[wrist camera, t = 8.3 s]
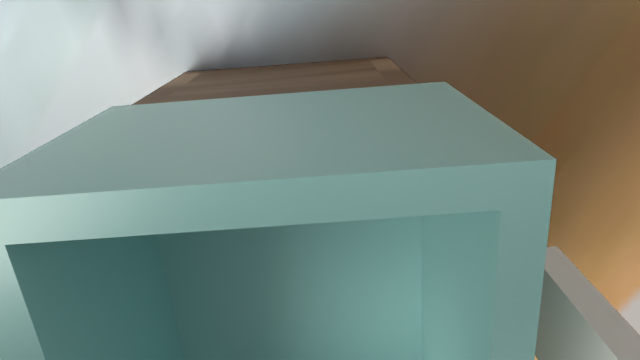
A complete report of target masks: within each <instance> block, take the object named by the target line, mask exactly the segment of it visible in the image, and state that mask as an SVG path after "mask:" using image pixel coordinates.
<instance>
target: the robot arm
mask: <svg viewBox="0 0 640 360" xmlns="http://www.w3.org/2000/svg"><path fill="white" fill-rule="evenodd" d="M535 355H536V357H537V359H538V360H640V335H639V334H638V333H637V332H636V331H635V330H634V329H633V327H632V326H631V325H630V324H629V323H628V322H627V321H626V320H625V319H624V318H623V317H622V316H621V315H620V313H619V312H618V311H617V310H616V309H615V308H614V307H613V306H612V305H611V304H610V303H609V302H608V301H607V300H606V298H605V297H604V296H603V295H602V294H601V293H600V292H599V291H598V290H597V289H596V288H595V287H594V286H593V285H592V283H591V282H590V281H589V280H588V279H587V278H586V277H585V276H584V275H583V274H582V273H581V272H580V271H579V270H578V268H577V267H576V266H575V265H574V264H573V263H572V262H571V261H570V260H569V259H568V258H567V257H566V256H565V255H564V253H563V252H562V251H561V250H560V249H559V248H558V247H557V246H552V247H547V250H546V259H545V268H544V277H543V286H542V295H541V304H540V313H539V322H538V331H537V340H536V349H535ZM0 360H1V359H0Z"/></svg>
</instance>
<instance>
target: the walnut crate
mask: <svg viewBox="0 0 640 360" xmlns="http://www.w3.org/2000/svg"><path fill="white" fill-rule="evenodd" d="M405 84H417V83H416V82H415V81H414V80H412V79H411V78H410V77H409V76H408V75H407V74H406V73H405V72H404V71H403V70H402V69H400V68H399V67H398V66H397V65H396V64H395V63H394V62H393V61H392V60H391V59H389V58H388V57H379V58H366V59H352V60H339V61H325V62H312V63H298V64H285V65H271V66H258V67H245V68H231V69H218V70H204V71H191V72H185V73H183V74H182V75H180V76H178V77H177V78H175V79H173V80H172V81H170V82H168V83H167V84H165V85H163V86H162V87H160V88H159V89H157V90H155V91H154V92H152V93H150V94H149V95H147V96H145V97H144V98H142V99H141V100H139V101H137V102H136V103H134V104H132V105H139V104H153V103H166V102H179V101H192V100H206V99H219V98H232V97H246V96H259V95H272V94H285V93H299V92H312V91H325V90H339V89H352V88H365V87H378V86H392V85H405Z"/></svg>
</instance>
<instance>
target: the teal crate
mask: <svg viewBox="0 0 640 360" xmlns="http://www.w3.org/2000/svg"><path fill="white" fill-rule="evenodd" d="M556 160H557V159H555V158H554V157H553V156H551V155H550V154H548V153H547V152H545V151H544V150H543V149H541V148H540V147H538V146H537V145H535V144H534V143H532V142H531V141H530V140H528V139H527V138H525V137H524V136H522V135H521V134H520V133H518V132H517V131H515V130H514V129H512V128H511V127H509V126H508V125H507V124H505V123H504V122H502V121H501V120H499V119H498V118H497V117H495V116H494V115H492V114H491V113H489V112H488V111H486V110H485V109H484V108H482V107H481V106H479V105H478V104H476V103H475V102H474V101H472V100H471V99H469V98H468V97H466V96H465V95H463V94H462V93H461V92H459V91H458V90H456V89H455V88H453V87H452V86H451V85H449V84H448V83H446V82H432V83H418V84H405V85H392V86H378V87H365V88H352V89H339V90H325V91H312V92H299V93H285V94H272V95H259V96H246V97H232V98H219V99H206V100H192V101H179V102H166V103H153V104H139V105H126V106H113V107H111V108H109V109H107V110H105V111H103V112H102V113H100V114H98V115H96V116H94V117H93V118H91V119H89V120H87V121H86V122H84V123H82V124H80V125H78V126H77V127H75V128H73V129H71V130H69V131H68V132H66V133H64V134H62V135H60V136H59V137H57V138H55V139H53V140H51V141H50V142H48V143H46V144H44V145H42V146H41V147H39V148H37V149H35V150H33V151H32V152H30V153H28V154H26V155H25V156H23V157H21V158H19V159H17V160H16V161H14V162H12V163H10V164H8V165H7V166H5V167H3V168H1V169H0V359H1V360H534V358H535V349H536V340H537V331H538V322H539V313H540V304H541V295H542V286H543V277H544V268H545V259H546V250H547V241H548V232H549V223H550V214H551V205H552V196H553V187H554V178H555V169H556Z"/></svg>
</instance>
